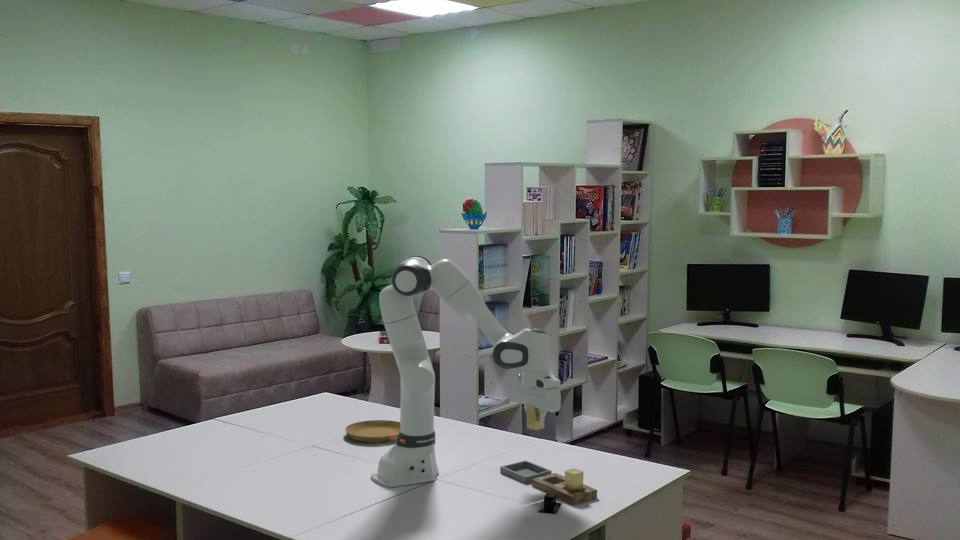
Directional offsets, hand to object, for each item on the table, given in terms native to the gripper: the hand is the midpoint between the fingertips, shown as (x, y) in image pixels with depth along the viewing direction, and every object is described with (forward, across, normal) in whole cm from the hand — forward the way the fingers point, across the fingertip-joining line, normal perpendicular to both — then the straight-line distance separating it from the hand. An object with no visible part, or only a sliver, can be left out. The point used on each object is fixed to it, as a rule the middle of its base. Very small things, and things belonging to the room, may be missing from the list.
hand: (535, 420), depth 269 cm
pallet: (+20, +14, -1) cm, 24 cm away
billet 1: (+3, 0, 0) cm, 3 cm away
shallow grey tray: (+20, -4, 0) cm, 20 cm away
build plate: (+20, +21, -13) cm, 32 cm away
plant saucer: (+20, -74, -16) cm, 78 cm away
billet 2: (+20, +19, -1) cm, 27 cm away
